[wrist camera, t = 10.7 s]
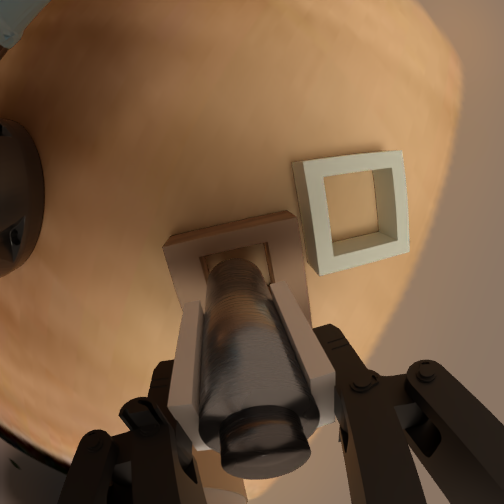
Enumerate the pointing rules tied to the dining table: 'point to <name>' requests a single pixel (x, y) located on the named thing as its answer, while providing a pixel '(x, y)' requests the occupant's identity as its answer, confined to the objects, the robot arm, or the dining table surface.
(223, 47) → the dining table surface
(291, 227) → the socket block
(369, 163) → the square frame
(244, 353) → the dark grey cylinder
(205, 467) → the coffee cup
